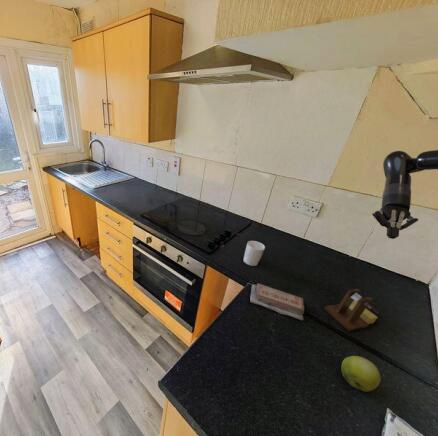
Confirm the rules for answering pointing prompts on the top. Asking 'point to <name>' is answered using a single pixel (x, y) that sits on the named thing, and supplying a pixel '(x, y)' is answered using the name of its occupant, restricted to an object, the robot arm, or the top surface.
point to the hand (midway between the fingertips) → (392, 237)
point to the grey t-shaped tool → (371, 308)
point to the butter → (365, 314)
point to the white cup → (253, 252)
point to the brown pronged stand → (349, 311)
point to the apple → (360, 373)
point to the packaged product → (277, 301)
